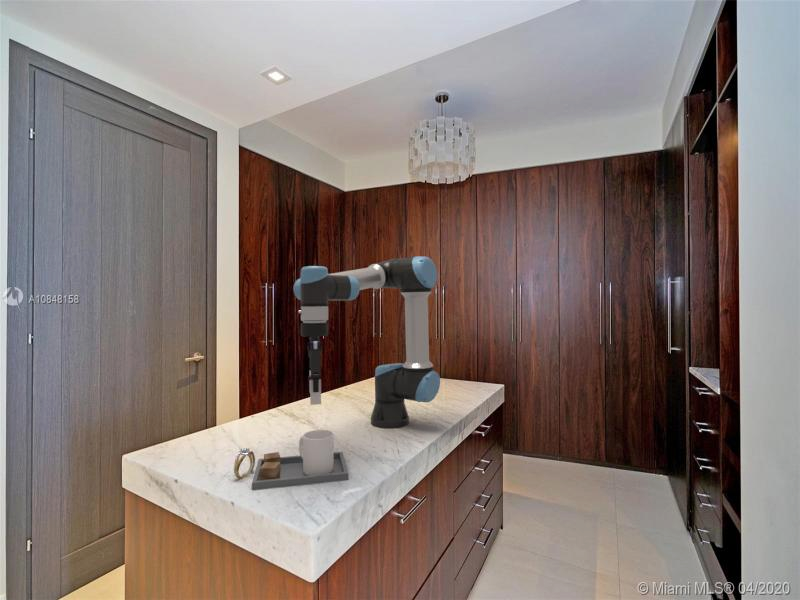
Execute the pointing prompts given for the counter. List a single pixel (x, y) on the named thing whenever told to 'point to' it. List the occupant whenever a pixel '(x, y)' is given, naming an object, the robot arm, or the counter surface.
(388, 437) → the counter surface
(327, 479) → the tray
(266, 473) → the block
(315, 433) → the cup
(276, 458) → the block
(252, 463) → the ring
